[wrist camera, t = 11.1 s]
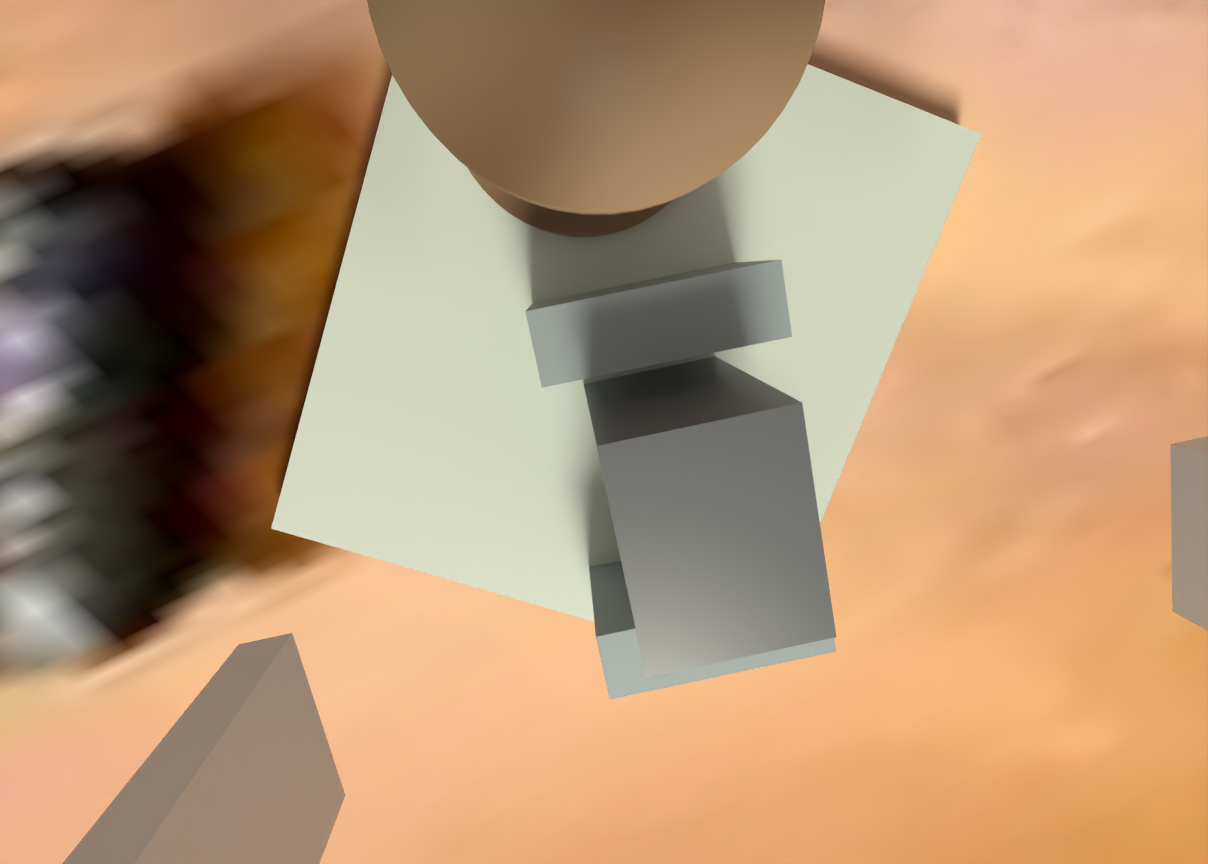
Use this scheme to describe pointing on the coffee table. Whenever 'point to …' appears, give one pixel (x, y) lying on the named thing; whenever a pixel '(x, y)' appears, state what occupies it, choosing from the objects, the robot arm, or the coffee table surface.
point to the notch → (643, 338)
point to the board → (573, 266)
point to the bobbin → (596, 95)
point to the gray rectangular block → (711, 513)
